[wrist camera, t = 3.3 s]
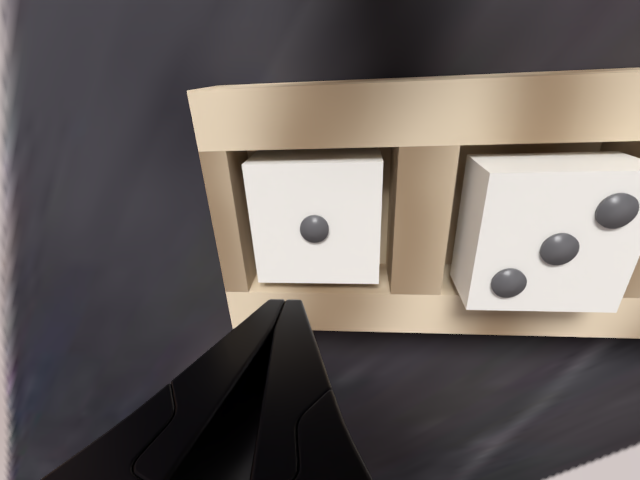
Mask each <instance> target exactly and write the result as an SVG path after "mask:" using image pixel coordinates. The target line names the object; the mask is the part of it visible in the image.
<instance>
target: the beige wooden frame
mask: <svg viewBox="0 0 640 480" xmlns="http://www.w3.org/2000/svg"><path fill="white" fill-rule="evenodd" d="M187 95H188V100H189V105H190V110H191V115H192V120H193V126H194V131H195V136H196V141H197V146H198V151H199V157H200V162H201V167H202V172H203V177H204V182H205V188H206V193H207V198H208V203H209V208H210V213H211V218H212V224H213V229H214V234H215V239H216V244H217V249H218V255H219V260H220V265H221V270H222V275H223V280H224V286H225V291H226V296H227V301H228V306H229V311H230V317H231V322H232V327H233V328H236V327H237V326H238V325H239V324H240V323H241V322H243V321H244V320H245V319H246V318H247V317H249V316H250V315H251V314H252V313H253V312H255V311H256V310H257V309H258V308H259V307H261V306H262V305H263V304H264V303H265V302H267V301H268V300H270V299H284V300H285V301H286V300H288V299H296V300H302V302H303V305H304V308H305V311H306V314H307V317H308V320H309V322H310V325H311V328H312V330H323V331H362V332H402V333H441V334H481V335H520V336H560V337H599V338H638V339H640V256H639V259H638V261H637V264H636V266H635V269H634V271H633V273H632V276H631V278H630V281H629V283H628V286H627V288H626V291H625V293H624V295H623V298H622V300H621V303H620V305H619V308H618V310H617V312H616V313H603V312H551V311H498V310H466V308H465V306H464V304H463V302H462V300H461V297H460V295H459V293H458V291H457V289H456V286H455V284H454V282H453V280H452V278H451V275H450V271H451V264H452V257H453V250H454V243H455V236H456V229H457V222H458V214H459V207H460V200H461V193H462V186H463V179H464V172H465V165H466V158H467V155H468V154H514V153H560V152H606V151H619V152H622V153H625V154H628V155H631V156H634V157H637V158H640V68H617V69H594V70H570V71H547V72H523V73H500V74H476V75H453V76H429V77H406V78H383V79H359V80H336V81H312V82H289V83H265V84H242V85H218V86H212V87H206V88H200V89H194V90H188V91H187ZM369 147H379V149H380V152H381V156H382V159H383V184H382V211H381V237H380V264H379V284H336V283H258V276H257V269H256V262H255V255H254V248H253V241H252V234H251V227H250V220H249V213H248V206H247V199H246V192H245V185H244V178H243V171H242V164H243V163H244V162H245V161H246V160H247V159H249V158H250V157H251V156H252V155H253V154H254V153H255V152H256V151H257V150H286V149H328V148H369Z"/></svg>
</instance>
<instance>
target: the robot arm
mask: <svg viewBox="0 0 640 480" xmlns="http://www.w3.org/2000/svg"><path fill="white" fill-rule="evenodd" d="M41 480H373V479H372V477H371V475H370V473H369V471H368V469H367V468H366V466H365V464H364V462H363V460H362V458H361V456H360V454H359V452H358V450H357V448H356V446H355V444H354V442H353V440H352V438H351V436H350V434H349V431H348V429H347V427H346V425H345V423H344V420H343V418H342V415H341V412H340V410H339V407H338V405H337V402H336V399H335V396H334V393H333V391H332V387H331V385H330V382H329V379H328V376H327V373H326V370H325V367H324V364H323V361H322V358H321V355H320V352H319V349H318V346H317V343H316V340H315V337H314V334H313V331H312V328H311V325H310V322H309V320H308V317H307V314H306V311H305V308H304V305H303V302H302V300H296V299H288V300H286V301H285V300H284V299H270V300H268V301H267V302H265V303H264V304H263V305H262V306H261V307H259V308H258V309H257V310H256V311H255V312H253V313H252V314H251V315H250V316H249V317H247V318H246V319H245V320H244V321H243V322H241V323H240V324H239V325H238V326H237V327H236V328H234V329H233V330H232V331H231V332H230V333H228V334H227V335H226V336H225V337H224V338H222V339H221V340H220V341H219V342H218V343H216V344H215V345H214V346H213V347H212V348H210V349H209V350H208V351H207V352H206V353H205V354H203V355H202V356H201V357H200V358H199V359H197V360H196V361H195V362H194V363H193V364H191V365H190V366H189V367H188V368H187V369H185V370H184V371H183V372H182V373H181V374H179V375H178V376H177V377H176V378H175V379H173V380H172V381H171V384H167V385H166V386H165V387H164V388H163V389H161V390H160V391H159V392H158V393H157V394H155V395H154V396H153V397H152V398H150V399H149V400H148V401H147V402H145V403H144V404H143V405H142V406H141V407H139V408H138V409H137V410H136V411H134V412H133V413H132V414H130V415H129V416H128V417H126V418H125V419H124V420H122V421H121V422H120V423H118V424H117V425H116V426H114V427H113V428H112V429H110V430H109V431H108V432H106V433H105V434H103V435H102V436H101V437H99V438H98V439H96V440H95V441H94V442H92V443H91V444H89V445H88V446H87V447H85V448H84V449H82V450H81V451H80V452H78V453H77V454H75V455H74V456H73V457H71V458H70V459H69V460H67V461H66V462H64V463H63V464H62V465H60V466H59V467H57V468H56V469H55V470H53V471H52V472H50V473H49V474H48V475H46V476H45V477H43V478H42V479H41Z"/></svg>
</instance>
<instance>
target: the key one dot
mask: <svg viewBox="0 0 640 480" xmlns="http://www.w3.org/2000/svg"><path fill="white" fill-rule="evenodd" d="M242 171H243V178H244V185H245V192H246V199H247V206H248V213H249V220H250V227H251V234H252V241H253V248H254V255H255V262H256V269H257V276H258V283H336V284H379V264H380V237H381V211H382V184H383V159H382V156H381V152H380V149H379V147H369V148H328V149H286V150H257V151H256V152H255V153H254V154H253V155H252V156H251V157H250V158H249V159H247V160H246V161H245V162H244V163H243V164H242Z"/></svg>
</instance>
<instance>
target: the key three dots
mask: <svg viewBox="0 0 640 480" xmlns="http://www.w3.org/2000/svg"><path fill="white" fill-rule="evenodd" d="M639 256H640V158H637V157H634V156H631V155H628V154H625V153H622V152H619V151H606V152H560V153H514V154H468V155H467V158H466V165H465V172H464V179H463V186H462V193H461V200H460V207H459V214H458V222H457V229H456V236H455V243H454V250H453V257H452V264H451V271H450V275H451V278H452V280H453V282H454V284H455V286H456V289H457V291H458V293H459V295H460V297H461V300H462V302H463V304H464V306H465V308H466V310H498V311H551V312H603V313H616V312H617V310H618V308H619V305H620V303H621V300H622V298H623V295H624V293H625V291H626V288H627V286H628V283H629V281H630V278H631V276H632V273H633V271H634V269H635V266H636V264H637V261H638V259H639Z"/></svg>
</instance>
